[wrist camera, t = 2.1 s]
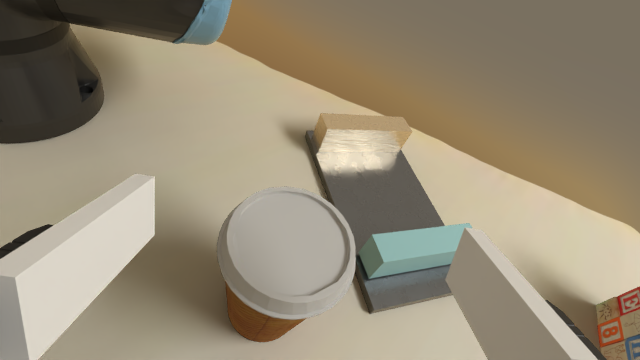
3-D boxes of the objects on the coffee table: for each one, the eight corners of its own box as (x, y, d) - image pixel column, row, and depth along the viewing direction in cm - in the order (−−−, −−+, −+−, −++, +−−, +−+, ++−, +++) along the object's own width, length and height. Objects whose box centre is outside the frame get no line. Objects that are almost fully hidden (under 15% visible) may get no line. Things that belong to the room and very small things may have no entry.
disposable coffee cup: (259, 240, 35) (284, 161, 26) (332, 301, 33) (385, 239, 24) (183, 309, 28) (183, 236, 20) (267, 391, 26) (308, 349, 18)
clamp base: (474, 290, 39) (504, 270, 35) (370, 313, 33) (392, 293, 30) (388, 137, 53) (403, 112, 49) (305, 135, 47) (315, 107, 44)
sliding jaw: (464, 261, 39) (483, 246, 37) (368, 278, 34) (383, 262, 32) (451, 239, 41) (469, 223, 38) (358, 252, 36) (372, 234, 33)
